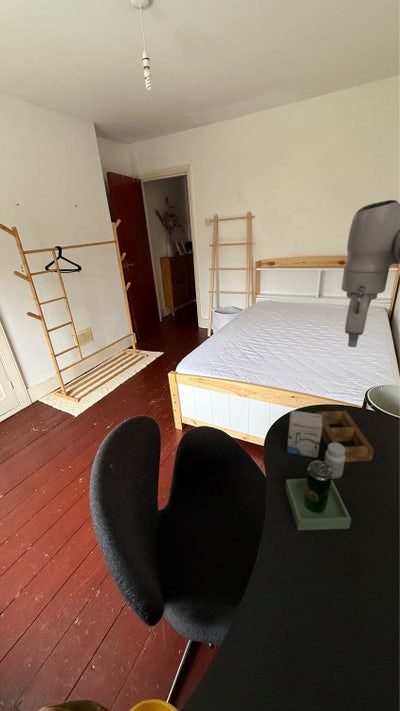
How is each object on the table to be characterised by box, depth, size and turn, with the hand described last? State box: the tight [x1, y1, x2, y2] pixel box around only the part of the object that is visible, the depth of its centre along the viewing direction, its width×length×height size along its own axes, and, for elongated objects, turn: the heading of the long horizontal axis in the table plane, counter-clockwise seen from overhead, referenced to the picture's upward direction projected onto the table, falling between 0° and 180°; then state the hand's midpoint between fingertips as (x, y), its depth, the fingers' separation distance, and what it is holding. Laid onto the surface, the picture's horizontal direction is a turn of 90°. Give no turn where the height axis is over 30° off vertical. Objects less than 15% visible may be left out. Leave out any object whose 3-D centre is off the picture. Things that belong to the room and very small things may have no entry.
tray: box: [284, 478, 352, 531], centre depth 70 cm, size 11×11×3 cm
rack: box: [315, 410, 375, 463], centre depth 89 cm, size 10×18×4 cm, turn 179°
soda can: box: [304, 460, 333, 513], centre depth 68 cm, size 5×5×12 cm
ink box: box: [286, 410, 322, 459], centre depth 84 cm, size 9×5×12 cm, turn 71°
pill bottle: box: [323, 442, 346, 479], centre depth 77 cm, size 5×5×8 cm
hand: (354, 338), depth 73 cm, fingers open, 8 cm apart
